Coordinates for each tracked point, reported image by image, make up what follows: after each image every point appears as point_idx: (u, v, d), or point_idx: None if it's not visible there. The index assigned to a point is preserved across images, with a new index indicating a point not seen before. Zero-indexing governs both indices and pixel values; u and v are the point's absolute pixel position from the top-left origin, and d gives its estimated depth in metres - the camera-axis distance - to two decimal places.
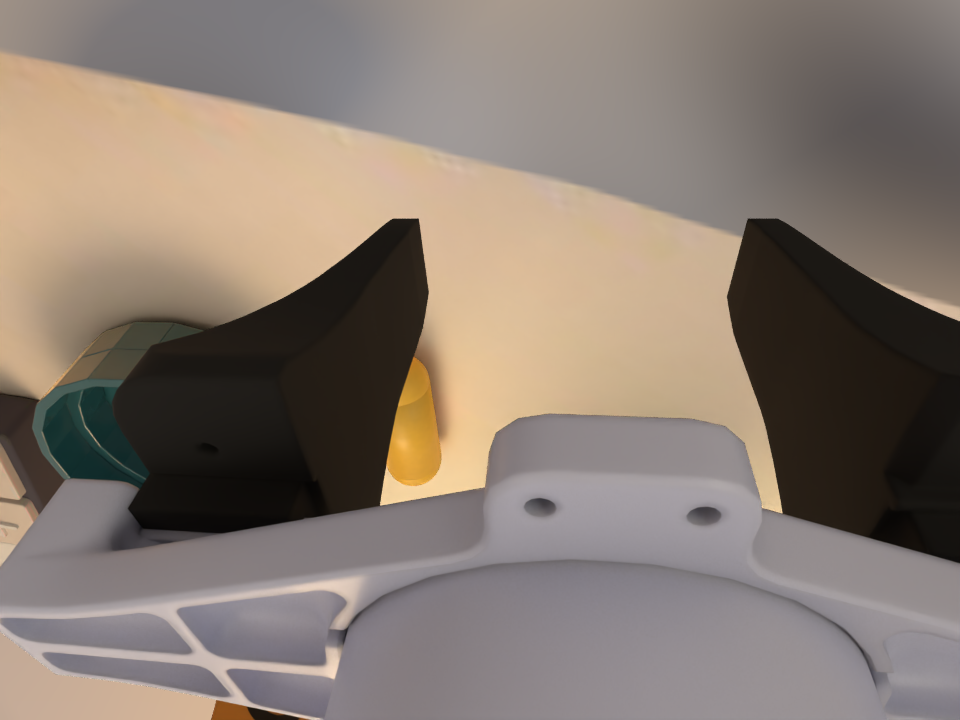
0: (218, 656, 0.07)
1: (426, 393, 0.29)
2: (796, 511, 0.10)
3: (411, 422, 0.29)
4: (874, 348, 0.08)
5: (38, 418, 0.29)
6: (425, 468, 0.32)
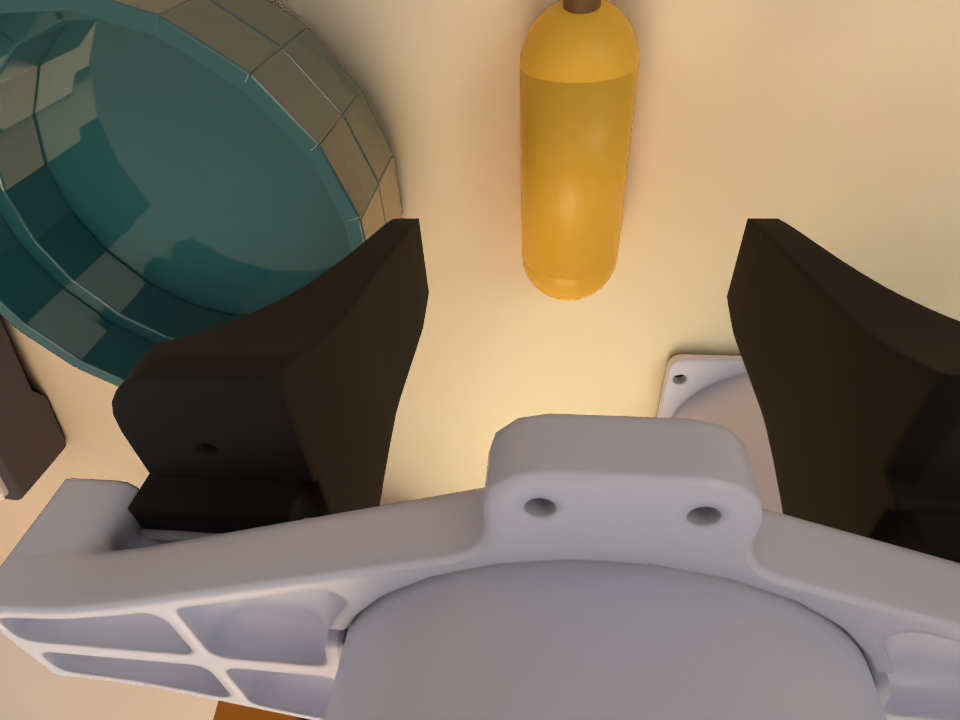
0: (218, 656, 0.07)
1: (636, 71, 0.15)
2: (796, 511, 0.10)
3: (605, 132, 0.15)
4: (874, 347, 0.08)
5: None
6: (602, 255, 0.18)
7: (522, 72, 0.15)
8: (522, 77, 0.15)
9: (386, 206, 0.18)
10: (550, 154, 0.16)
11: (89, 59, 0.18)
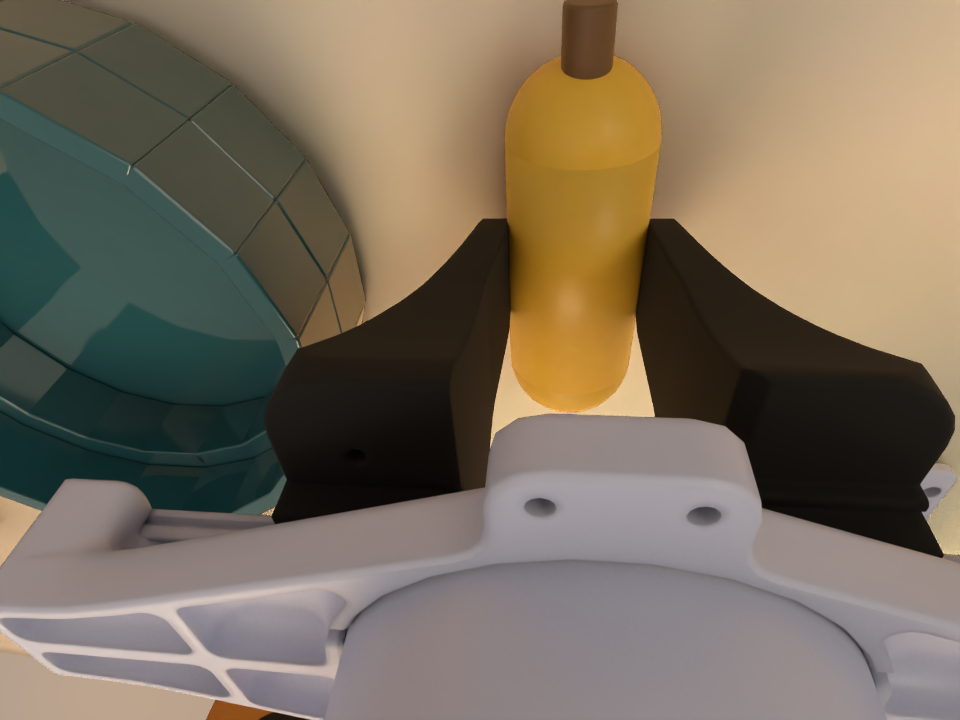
0: (218, 656, 0.07)
1: (658, 150, 0.11)
2: None
3: (616, 228, 0.12)
4: (710, 344, 0.08)
5: None
6: (610, 367, 0.14)
7: (507, 149, 0.12)
8: (507, 155, 0.12)
9: (340, 302, 0.14)
10: (544, 253, 0.12)
11: None
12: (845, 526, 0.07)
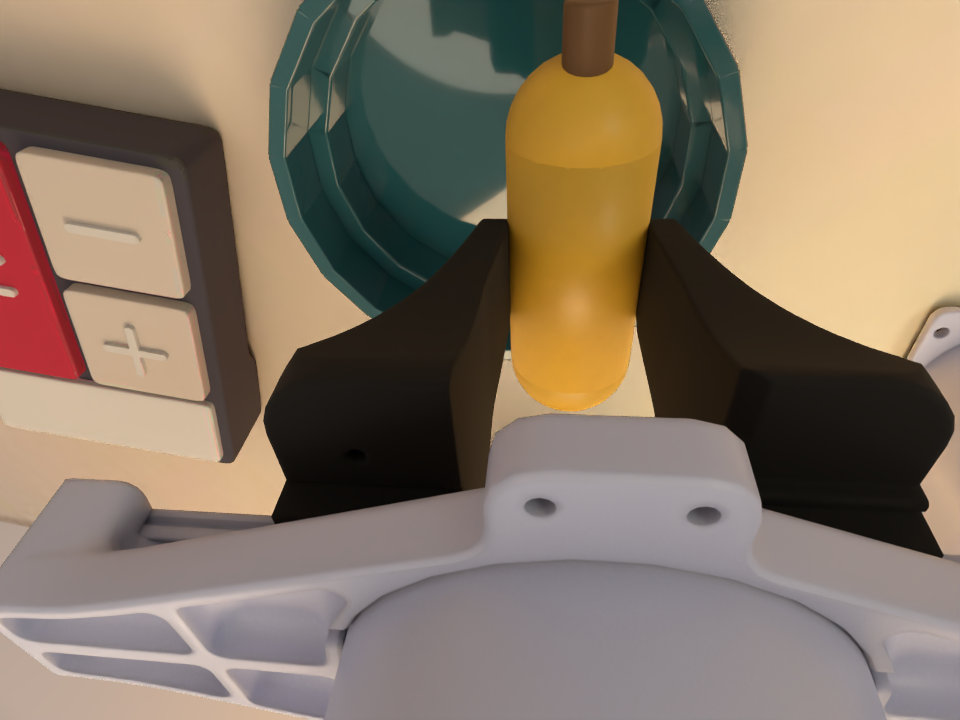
0: (218, 656, 0.07)
1: (659, 148, 0.11)
2: None
3: (617, 227, 0.12)
4: (710, 343, 0.08)
5: (292, 50, 0.15)
6: (611, 365, 0.14)
7: (508, 147, 0.12)
8: (508, 153, 0.12)
9: None
10: (545, 251, 0.12)
11: None
12: (845, 526, 0.07)
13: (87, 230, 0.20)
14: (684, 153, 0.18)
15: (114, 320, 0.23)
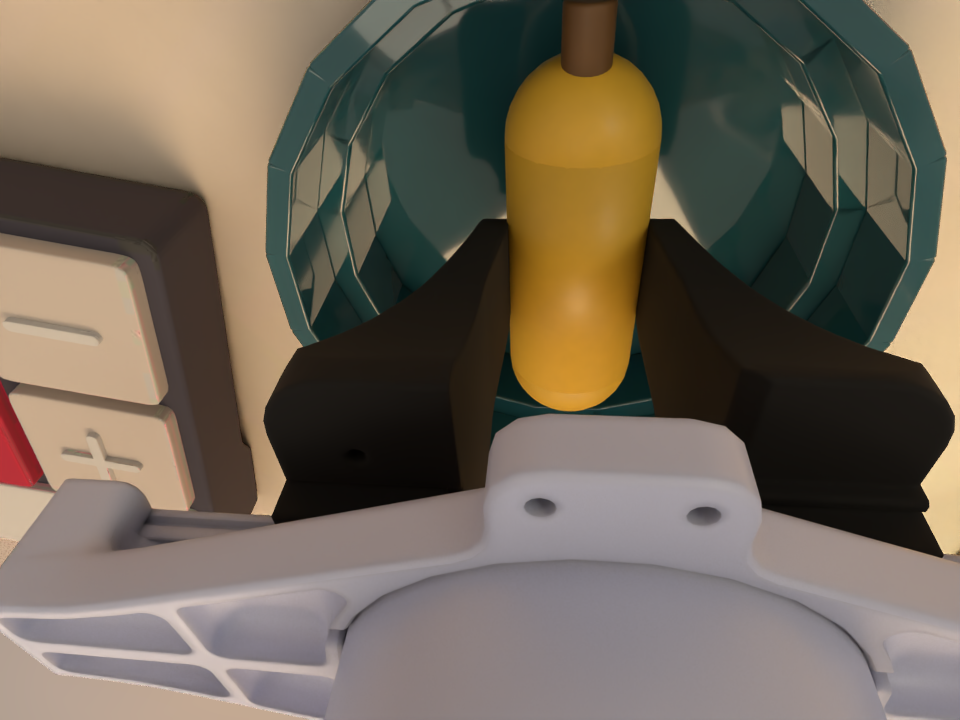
0: (218, 656, 0.07)
1: (658, 148, 0.11)
2: None
3: (616, 227, 0.12)
4: (709, 344, 0.08)
5: (299, 122, 0.11)
6: (610, 365, 0.14)
7: (507, 147, 0.12)
8: (507, 153, 0.12)
9: None
10: (544, 251, 0.12)
11: (481, 37, 0.13)
12: (845, 526, 0.07)
13: (32, 329, 0.16)
14: (817, 244, 0.14)
15: (74, 426, 0.18)
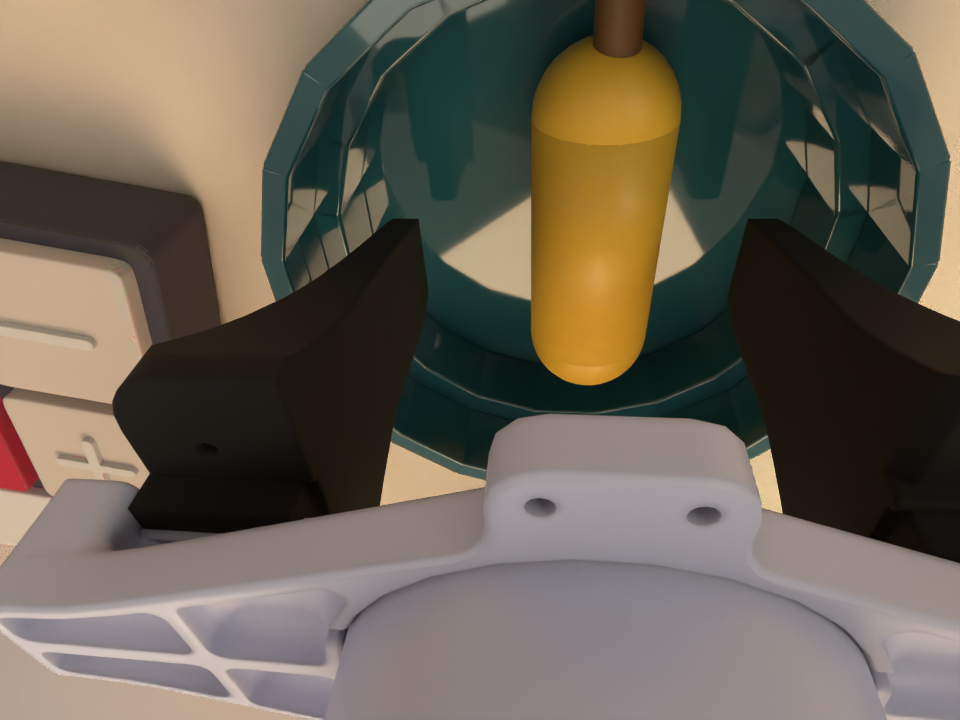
0: (218, 656, 0.07)
1: None
2: (796, 511, 0.10)
3: (657, 195, 0.12)
4: (874, 347, 0.08)
5: (294, 125, 0.10)
6: (641, 330, 0.15)
7: (547, 135, 0.12)
8: (546, 141, 0.12)
9: None
10: (593, 230, 0.12)
11: (480, 38, 0.13)
12: None
13: (26, 334, 0.16)
14: None
15: (68, 431, 0.18)
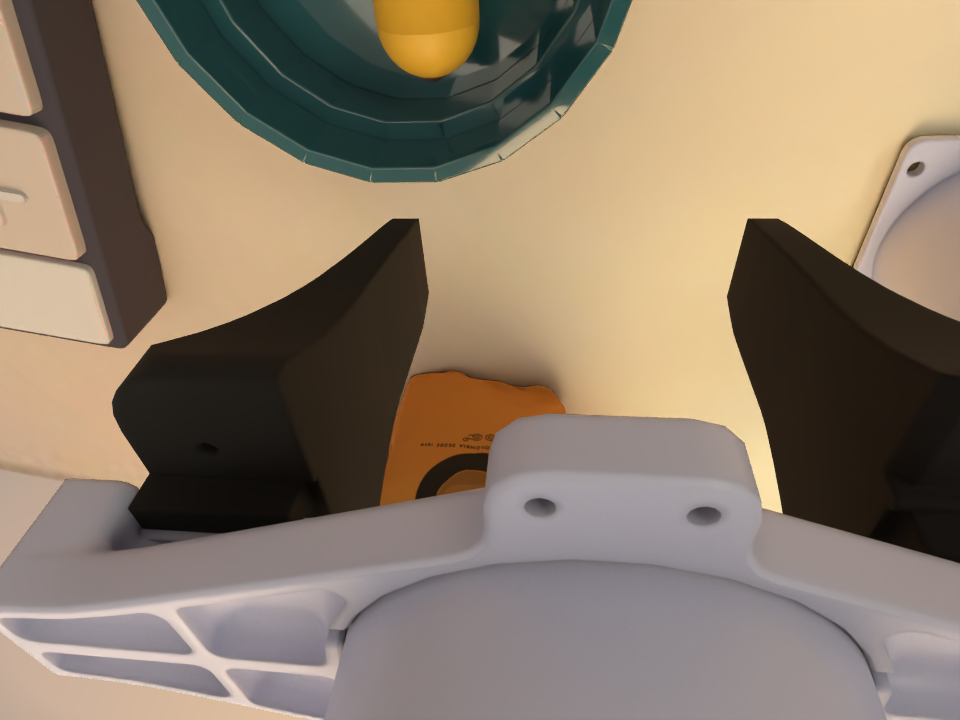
0: (218, 656, 0.07)
1: None
2: (796, 511, 0.10)
3: None
4: (874, 347, 0.08)
5: None
6: None
7: None
8: None
9: None
10: None
11: None
12: None
13: None
14: None
15: None
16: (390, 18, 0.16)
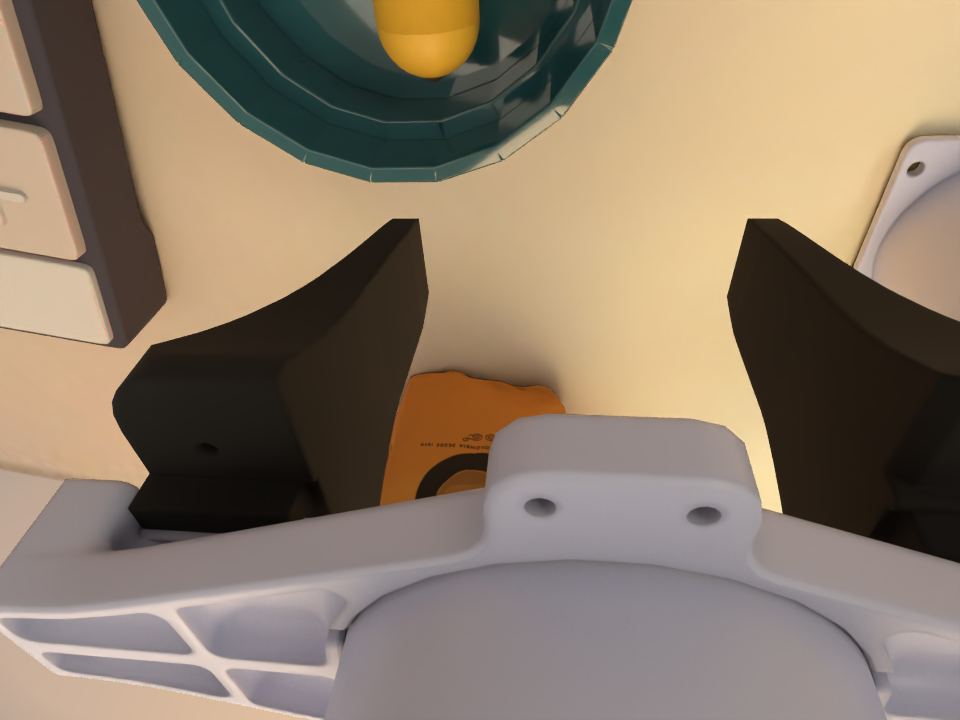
0: (218, 656, 0.07)
1: None
2: (796, 511, 0.10)
3: None
4: (874, 347, 0.08)
5: None
6: None
7: None
8: None
9: None
10: None
11: None
12: None
13: None
14: None
15: None
16: (390, 18, 0.16)
